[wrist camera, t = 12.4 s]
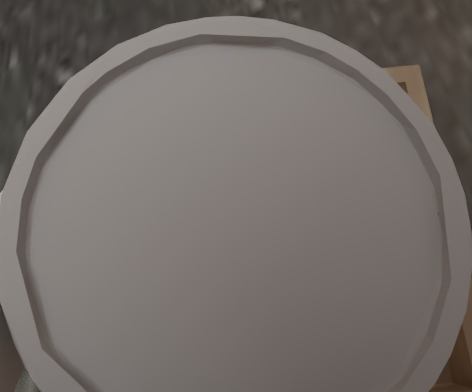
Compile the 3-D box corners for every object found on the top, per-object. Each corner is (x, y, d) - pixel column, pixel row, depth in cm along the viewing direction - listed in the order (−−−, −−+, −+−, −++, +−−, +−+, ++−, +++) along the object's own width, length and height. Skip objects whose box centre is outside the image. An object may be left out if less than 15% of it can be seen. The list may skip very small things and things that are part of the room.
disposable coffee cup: (89, 209, 20) (-85, 73, 8) (283, 143, 21) (369, -54, 10) (153, 423, 18) (44, 642, 6) (363, 337, 19) (597, 387, 8)
